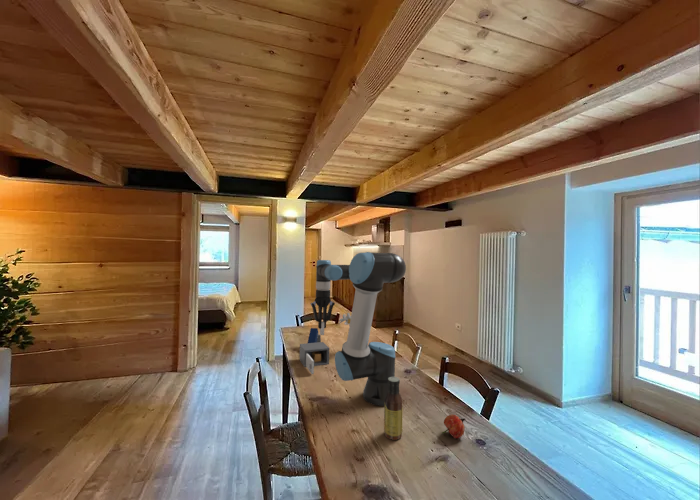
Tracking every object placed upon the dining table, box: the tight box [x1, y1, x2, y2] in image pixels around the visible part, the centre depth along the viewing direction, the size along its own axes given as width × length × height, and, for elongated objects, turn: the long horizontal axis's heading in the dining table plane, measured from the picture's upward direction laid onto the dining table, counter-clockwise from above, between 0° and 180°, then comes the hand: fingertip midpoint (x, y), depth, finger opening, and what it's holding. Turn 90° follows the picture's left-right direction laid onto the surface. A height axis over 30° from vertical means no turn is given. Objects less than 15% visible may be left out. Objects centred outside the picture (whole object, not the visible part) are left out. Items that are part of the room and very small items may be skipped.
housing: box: [299, 341, 330, 368], centre depth 173 cm, size 12×14×9 cm
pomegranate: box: [442, 414, 467, 439], centre depth 107 cm, size 7×7×10 cm
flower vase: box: [339, 312, 351, 326], centre depth 189 cm, size 13×18×25 cm
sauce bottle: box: [383, 376, 404, 441], centre depth 105 cm, size 6×6×20 cm
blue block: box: [307, 327, 322, 343], centre depth 195 cm, size 6×20×15 cm, turn 174°
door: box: [305, 353, 315, 375], centre depth 159 cm, size 2×12×7 cm, turn 23°
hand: (321, 334), depth 160 cm, fingers closed
